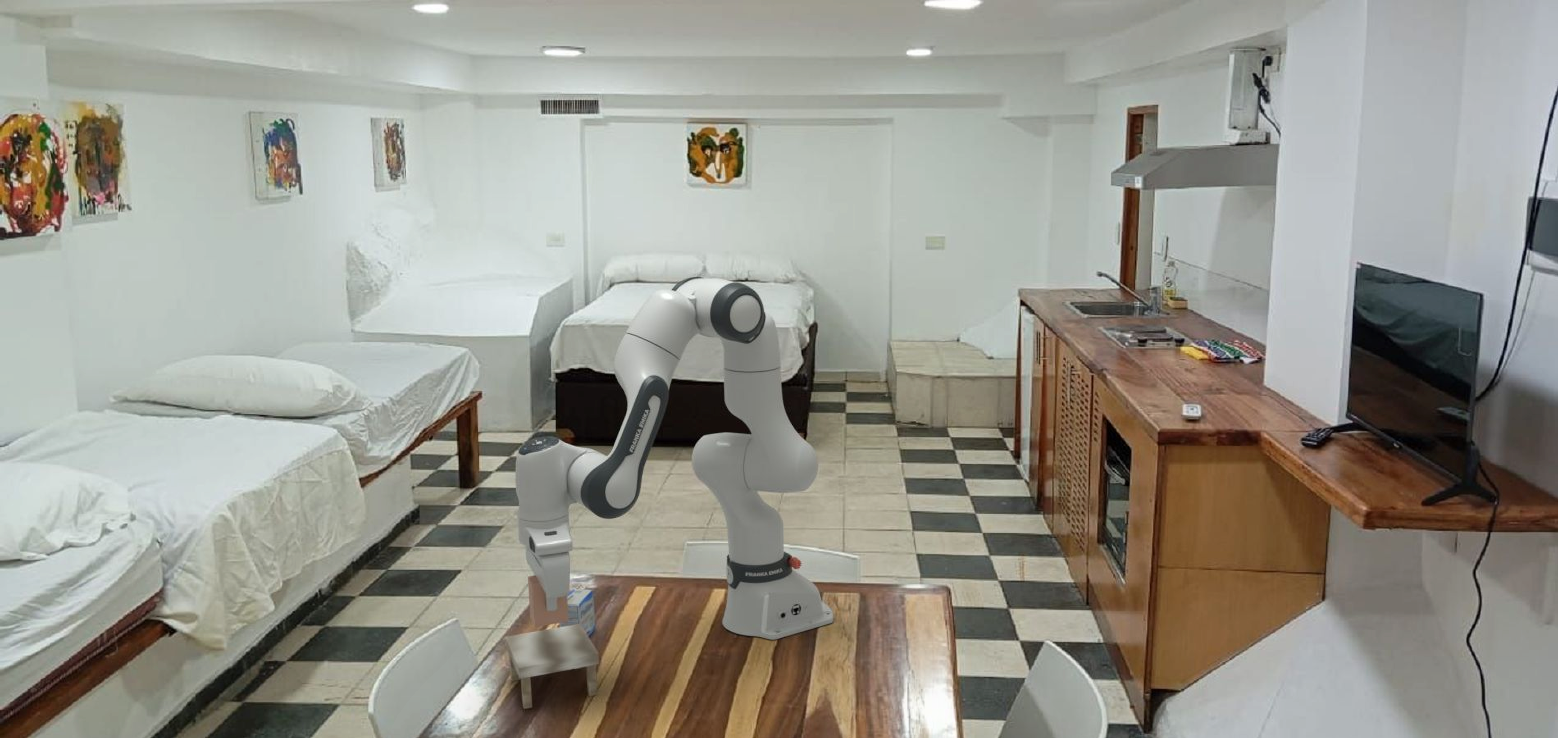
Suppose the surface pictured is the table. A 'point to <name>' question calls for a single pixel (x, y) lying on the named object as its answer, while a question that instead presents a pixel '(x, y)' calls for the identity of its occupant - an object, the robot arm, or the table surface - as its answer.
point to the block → (539, 610)
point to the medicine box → (581, 610)
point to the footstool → (551, 656)
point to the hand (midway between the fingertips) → (548, 603)
